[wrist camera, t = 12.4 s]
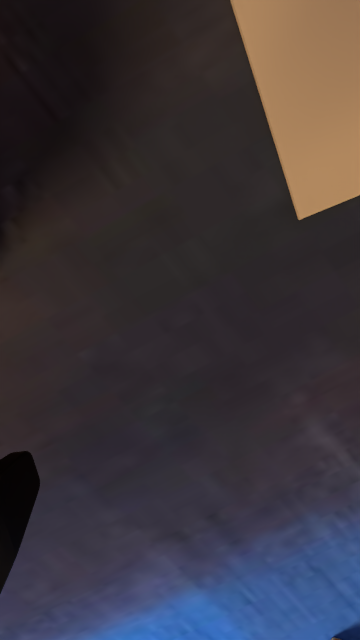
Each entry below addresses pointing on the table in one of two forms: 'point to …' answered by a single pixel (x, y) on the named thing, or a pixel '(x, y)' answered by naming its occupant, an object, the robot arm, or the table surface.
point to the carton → (309, 92)
